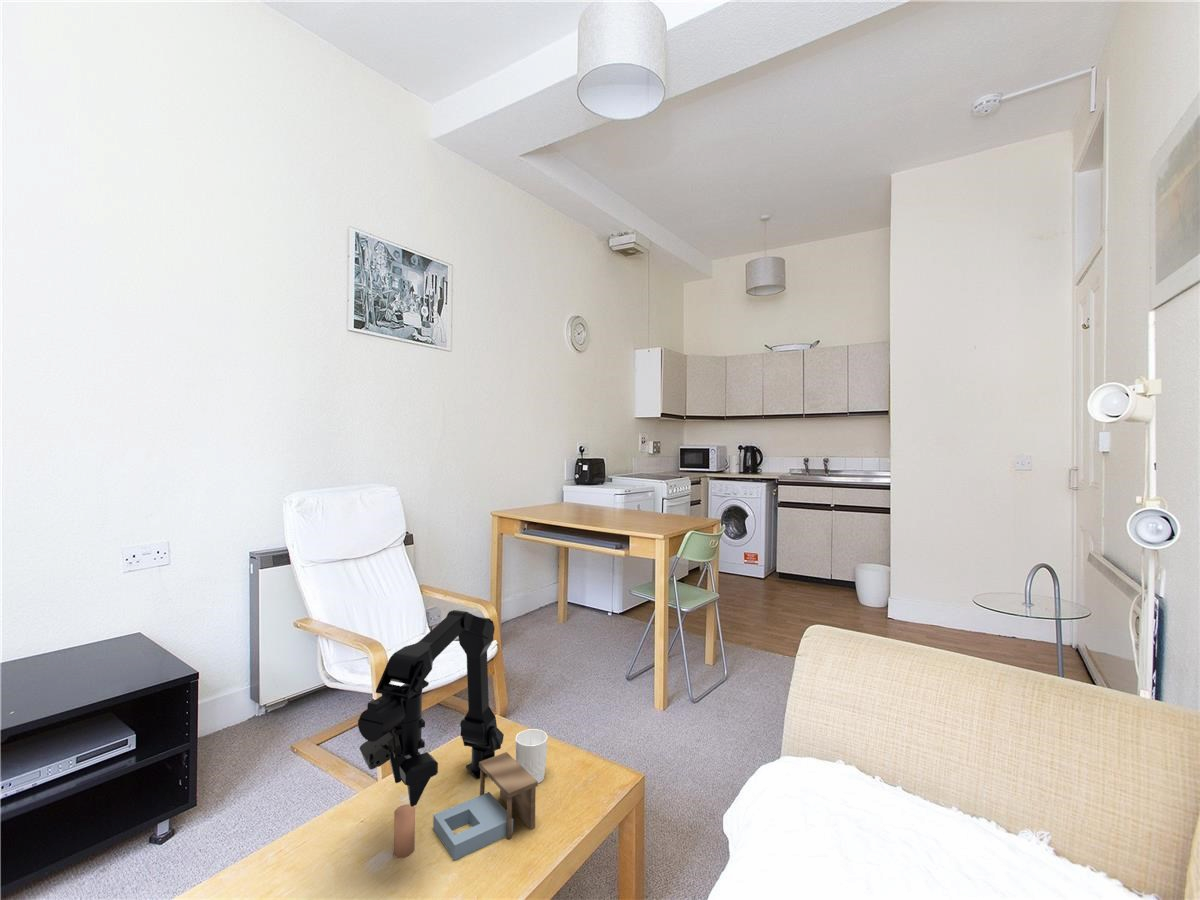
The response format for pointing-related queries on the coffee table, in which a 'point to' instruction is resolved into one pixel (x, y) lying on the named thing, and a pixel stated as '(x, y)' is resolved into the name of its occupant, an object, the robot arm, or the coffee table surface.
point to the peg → (404, 831)
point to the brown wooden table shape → (511, 787)
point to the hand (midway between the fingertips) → (405, 793)
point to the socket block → (484, 822)
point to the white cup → (532, 752)
